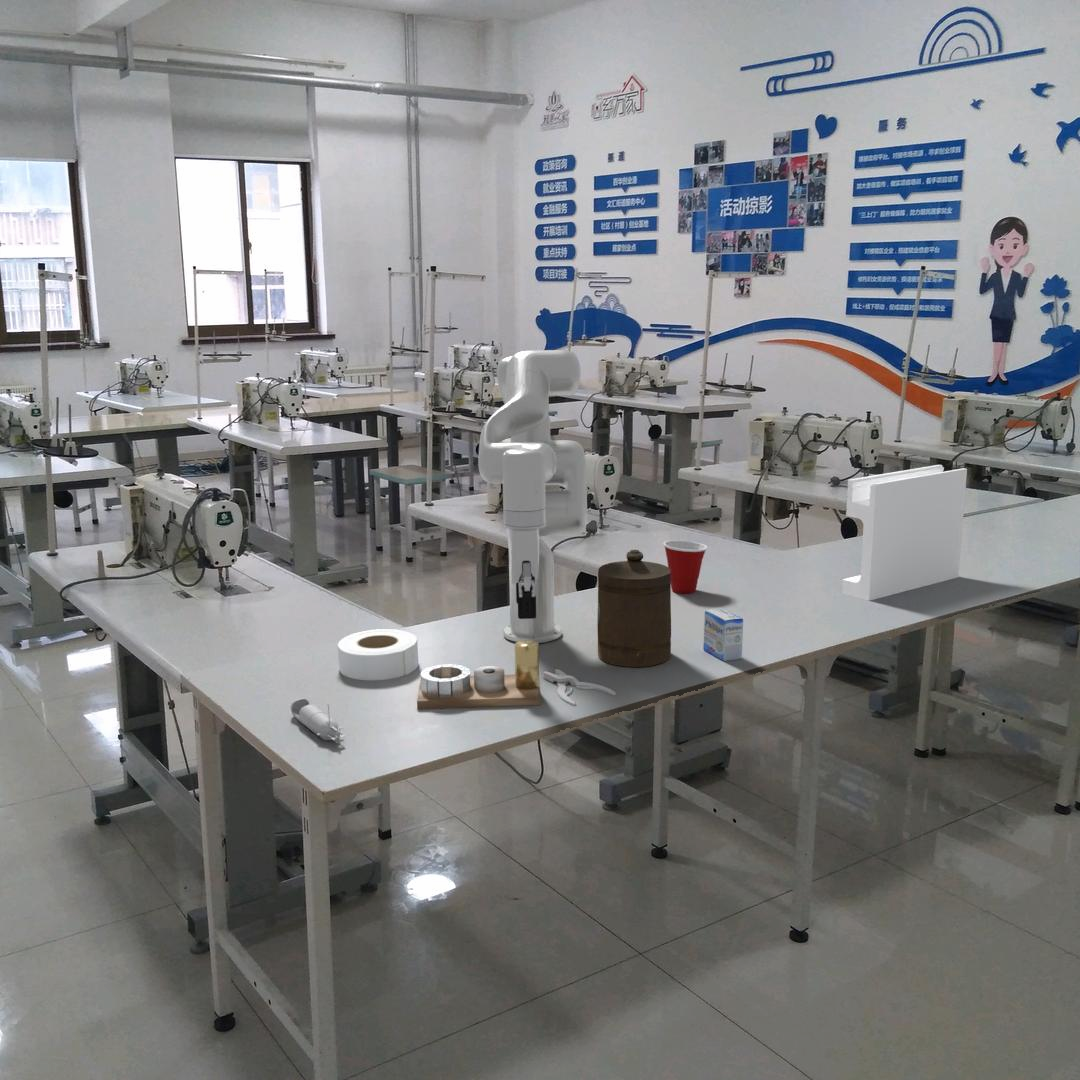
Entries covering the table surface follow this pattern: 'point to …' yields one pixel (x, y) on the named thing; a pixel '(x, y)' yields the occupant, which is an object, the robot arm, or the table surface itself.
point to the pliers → (565, 679)
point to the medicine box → (723, 634)
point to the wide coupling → (445, 680)
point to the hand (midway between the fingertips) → (526, 610)
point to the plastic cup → (684, 564)
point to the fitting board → (484, 692)
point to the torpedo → (316, 720)
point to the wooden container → (634, 612)
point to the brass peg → (527, 665)
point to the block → (907, 529)
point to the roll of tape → (378, 654)
